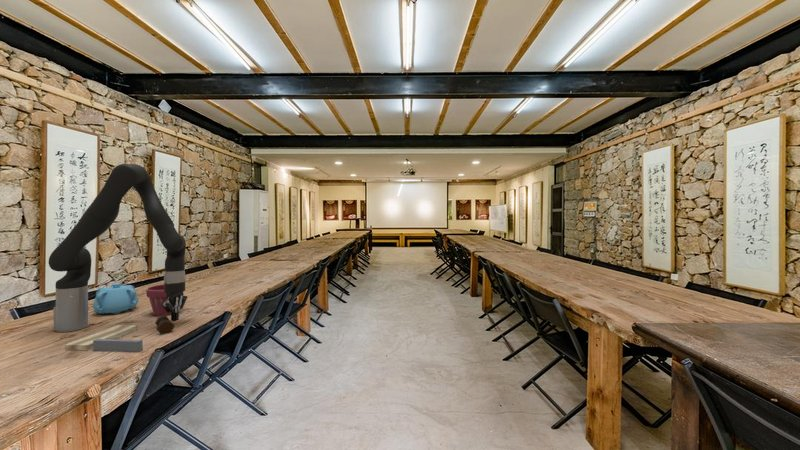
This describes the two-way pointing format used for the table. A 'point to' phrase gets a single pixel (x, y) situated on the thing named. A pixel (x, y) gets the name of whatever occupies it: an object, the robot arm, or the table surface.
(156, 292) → the plant pot
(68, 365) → the table surface
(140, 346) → the bar
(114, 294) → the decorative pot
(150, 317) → the table surface
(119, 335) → the birch board
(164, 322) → the brown dumbbell
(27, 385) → the table surface
